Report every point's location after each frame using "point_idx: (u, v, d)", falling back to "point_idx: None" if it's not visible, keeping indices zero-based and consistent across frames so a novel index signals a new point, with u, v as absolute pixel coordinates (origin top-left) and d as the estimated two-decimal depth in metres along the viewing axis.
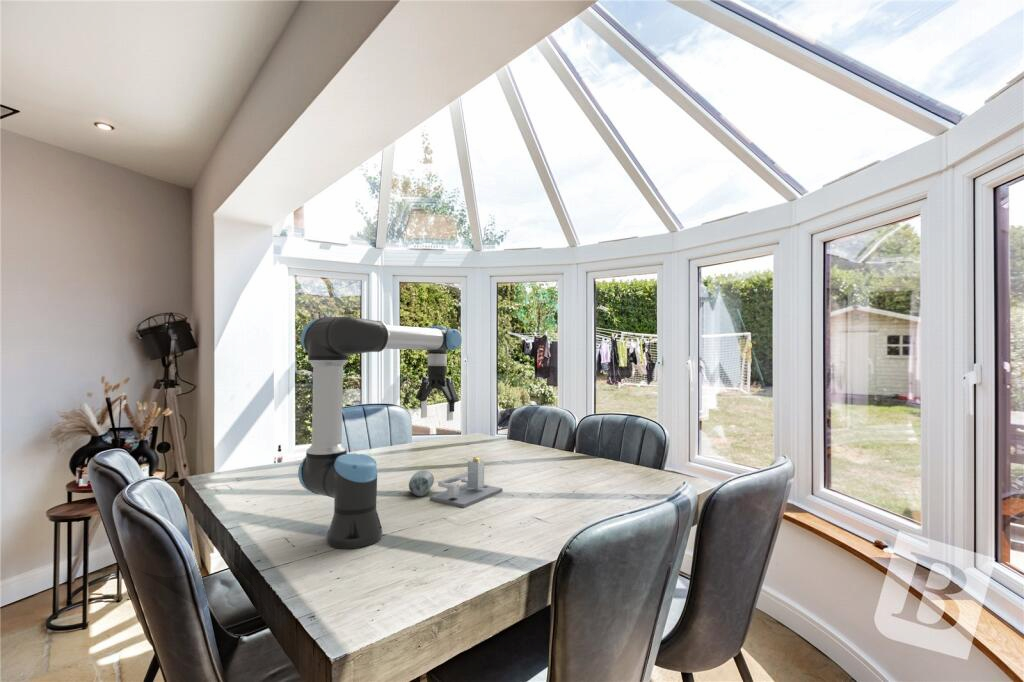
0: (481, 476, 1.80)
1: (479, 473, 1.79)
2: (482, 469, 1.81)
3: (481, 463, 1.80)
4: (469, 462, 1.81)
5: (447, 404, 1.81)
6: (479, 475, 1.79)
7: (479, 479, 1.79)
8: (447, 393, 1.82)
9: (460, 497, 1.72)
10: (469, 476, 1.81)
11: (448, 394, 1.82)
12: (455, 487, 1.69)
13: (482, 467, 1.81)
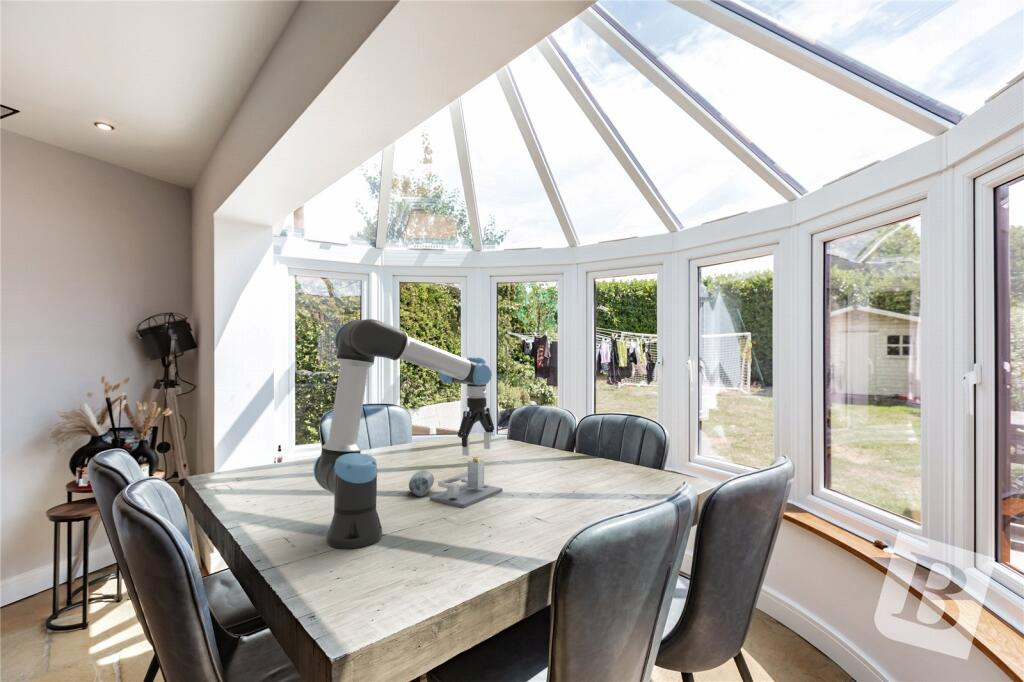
0: (481, 476, 1.80)
1: (479, 473, 1.79)
2: (482, 469, 1.81)
3: (481, 463, 1.80)
4: (469, 462, 1.81)
5: None
6: (479, 475, 1.79)
7: (479, 479, 1.79)
8: None
9: (460, 497, 1.72)
10: (469, 476, 1.81)
11: None
12: (455, 487, 1.69)
13: (482, 467, 1.81)
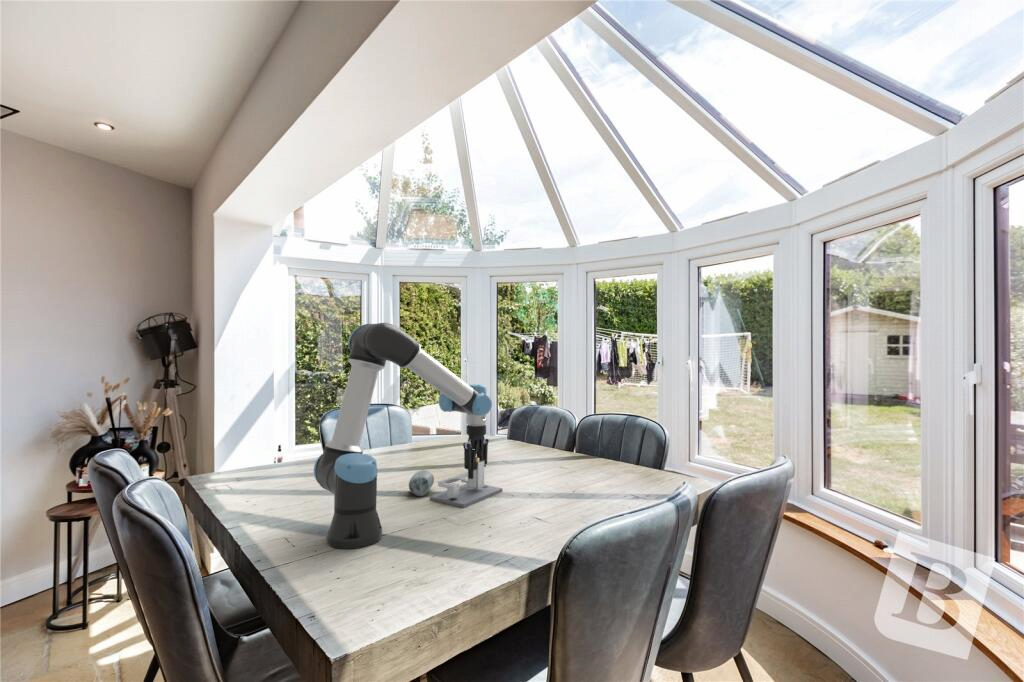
0: (481, 476, 1.80)
1: (479, 473, 1.79)
2: (482, 469, 1.81)
3: (481, 463, 1.80)
4: None
5: None
6: (479, 475, 1.79)
7: (479, 479, 1.79)
8: None
9: (460, 497, 1.72)
10: None
11: None
12: (455, 487, 1.69)
13: (482, 467, 1.81)
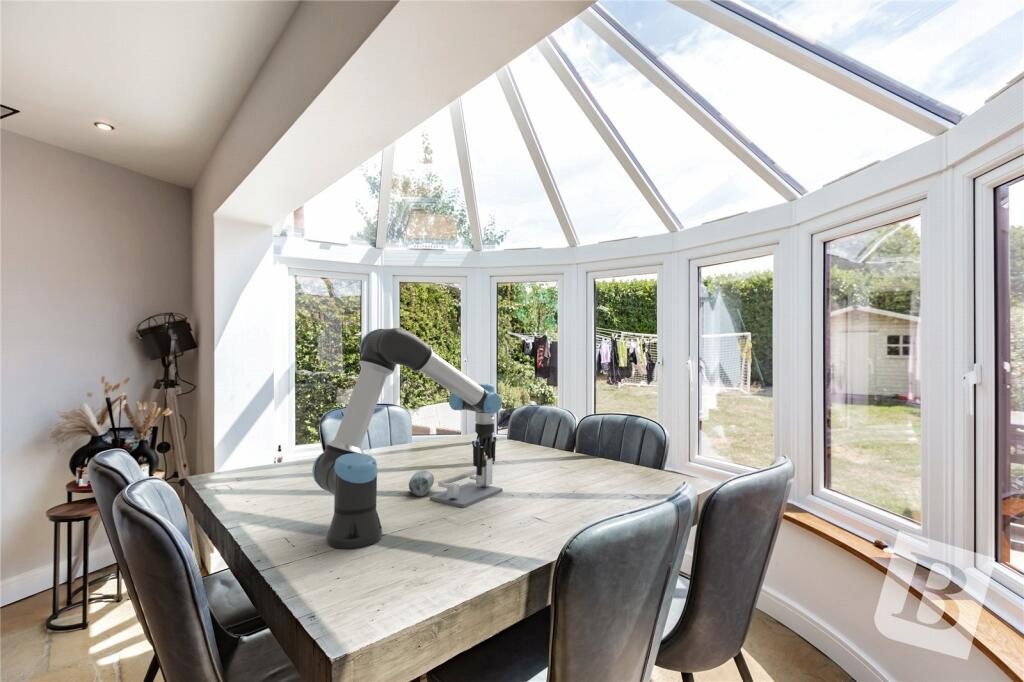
0: (489, 473, 1.85)
1: (487, 470, 1.84)
2: (490, 466, 1.85)
3: (489, 460, 1.85)
4: None
5: None
6: (487, 472, 1.84)
7: (488, 476, 1.84)
8: None
9: (460, 497, 1.72)
10: None
11: None
12: (455, 487, 1.69)
13: (491, 465, 1.86)
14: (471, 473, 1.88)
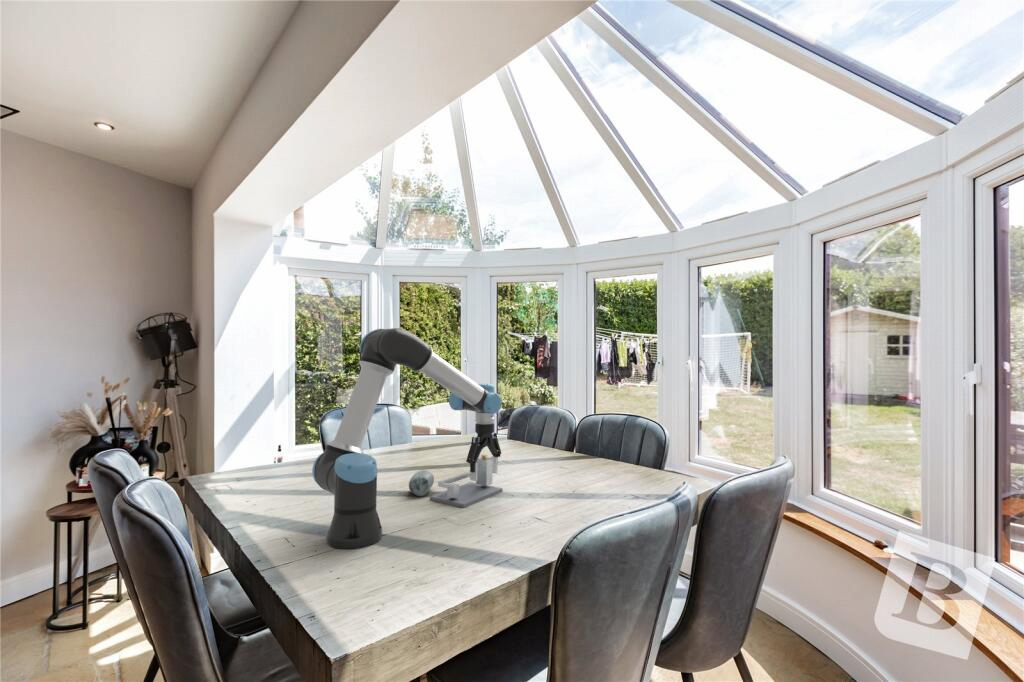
0: (489, 473, 1.85)
1: (487, 470, 1.84)
2: (490, 466, 1.85)
3: (489, 460, 1.85)
4: (478, 459, 1.85)
5: None
6: (487, 472, 1.84)
7: (488, 476, 1.84)
8: None
9: (460, 497, 1.72)
10: (478, 473, 1.85)
11: (474, 453, 1.81)
12: (455, 487, 1.69)
13: (491, 465, 1.86)
14: None
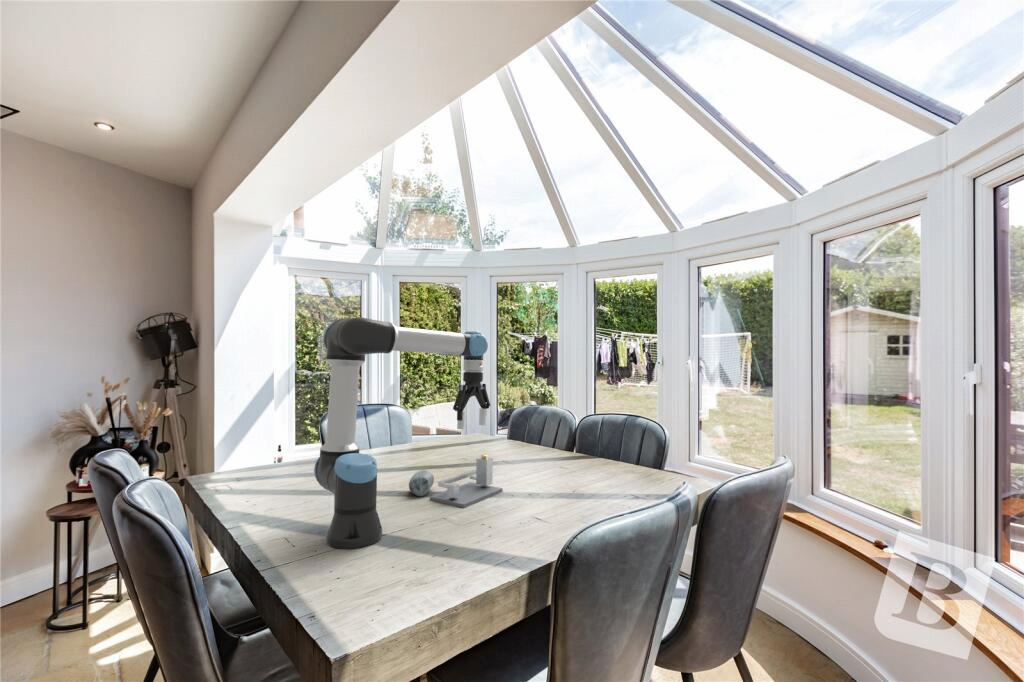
0: (489, 473, 1.85)
1: (487, 470, 1.84)
2: (490, 466, 1.85)
3: (489, 460, 1.85)
4: (478, 459, 1.85)
5: None
6: (487, 472, 1.84)
7: (488, 476, 1.84)
8: None
9: (460, 497, 1.72)
10: (478, 473, 1.85)
11: (461, 402, 1.75)
12: (455, 487, 1.69)
13: (491, 465, 1.86)
14: (471, 473, 1.88)
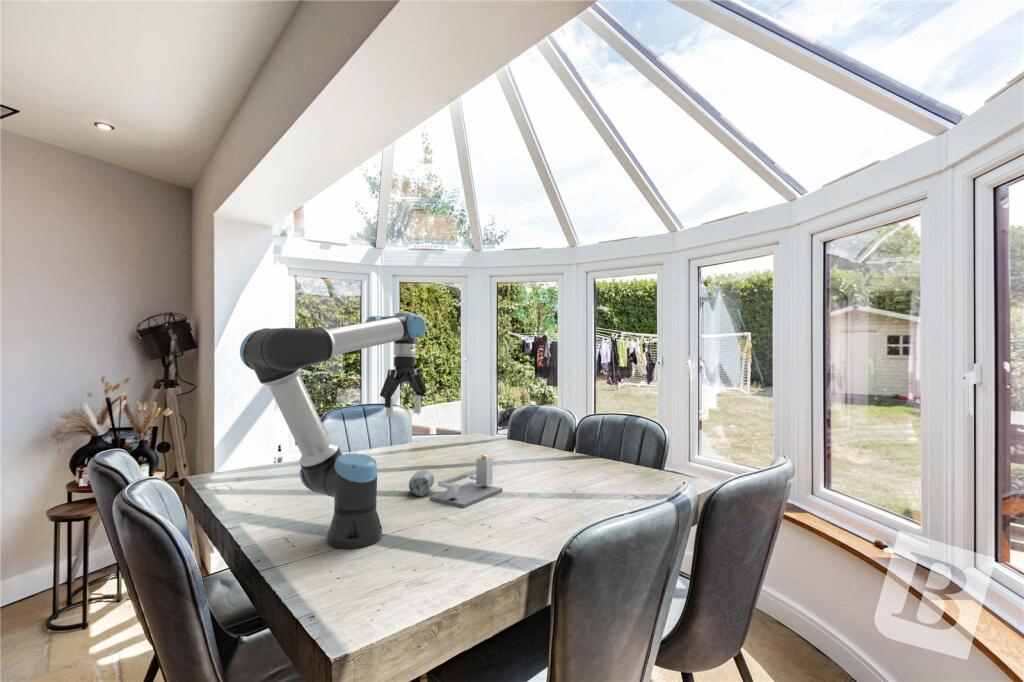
0: (489, 473, 1.85)
1: (487, 470, 1.84)
2: (490, 466, 1.85)
3: (489, 460, 1.85)
4: (478, 459, 1.85)
5: None
6: (487, 472, 1.84)
7: (488, 476, 1.84)
8: (391, 386, 1.65)
9: (460, 497, 1.72)
10: (478, 473, 1.85)
11: (390, 388, 1.64)
12: (455, 487, 1.69)
13: (491, 465, 1.86)
14: (471, 473, 1.88)
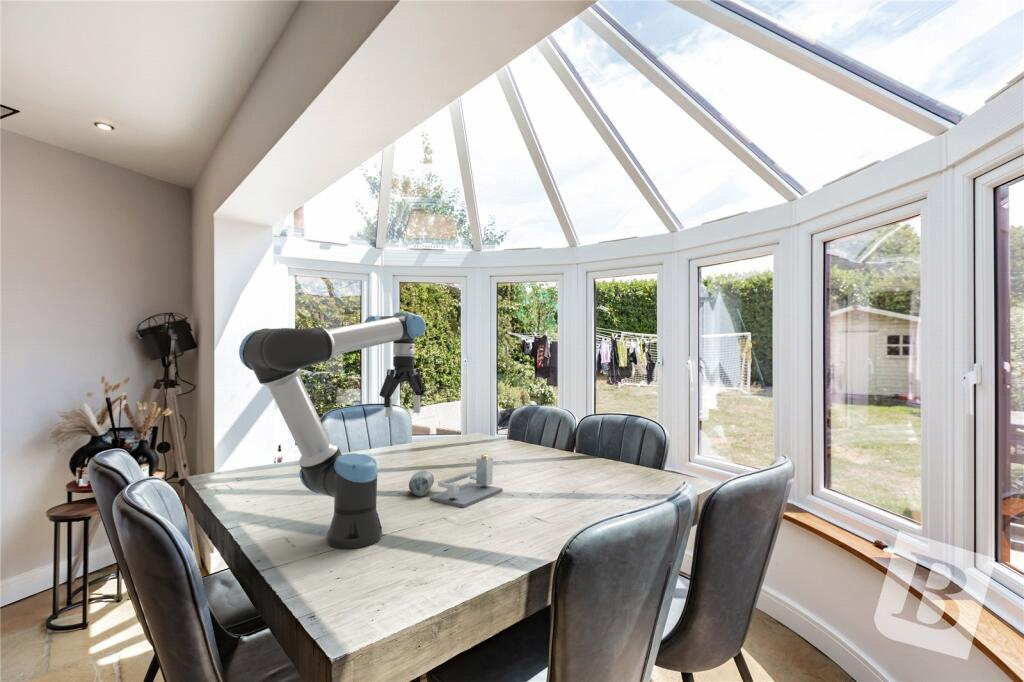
0: (489, 473, 1.85)
1: (487, 470, 1.84)
2: (490, 466, 1.85)
3: (489, 460, 1.85)
4: (478, 459, 1.85)
5: None
6: (487, 472, 1.84)
7: (488, 476, 1.84)
8: (390, 386, 1.64)
9: (460, 497, 1.72)
10: (478, 473, 1.85)
11: (390, 387, 1.64)
12: (455, 487, 1.69)
13: (491, 465, 1.86)
14: (471, 473, 1.88)
